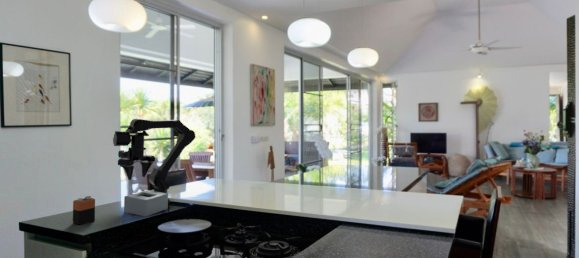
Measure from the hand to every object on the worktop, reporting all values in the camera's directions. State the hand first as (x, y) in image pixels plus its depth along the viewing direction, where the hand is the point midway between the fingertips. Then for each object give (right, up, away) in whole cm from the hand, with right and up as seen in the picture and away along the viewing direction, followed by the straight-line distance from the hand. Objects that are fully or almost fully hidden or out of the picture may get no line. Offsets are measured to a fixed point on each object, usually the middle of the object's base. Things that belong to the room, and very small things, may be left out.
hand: (136, 178), depth 183 cm
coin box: (+8, -13, -10) cm, 18 cm away
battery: (-9, -14, -30) cm, 34 cm away
